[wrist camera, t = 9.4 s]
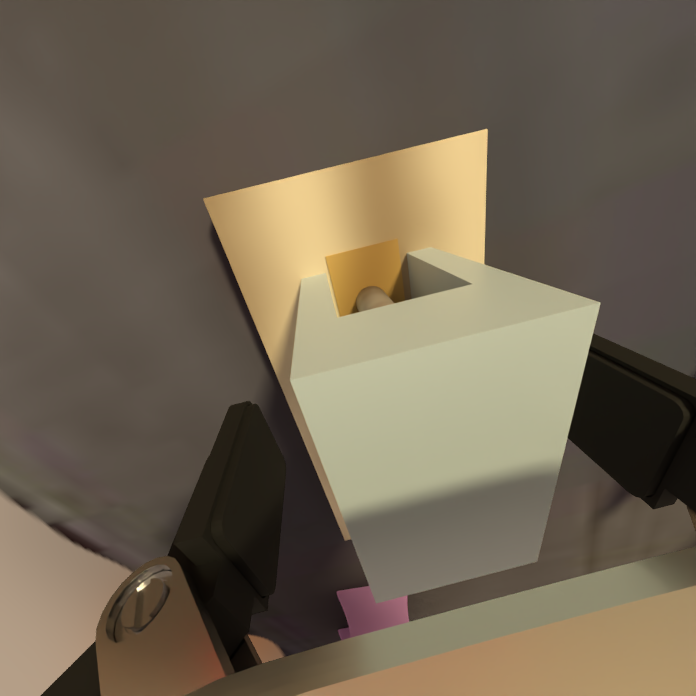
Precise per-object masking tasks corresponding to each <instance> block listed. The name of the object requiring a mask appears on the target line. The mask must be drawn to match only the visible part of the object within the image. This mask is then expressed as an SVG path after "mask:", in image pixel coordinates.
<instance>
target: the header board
mask: <svg viewBox="0 0 696 696" xmlns="http://www.w3.org/2000/svg"><path fill="white" fill-rule="evenodd" d="M486 170H487V129H485V130H481V131H477V132H473V133H468V134H464V135H460V136H456V137H452V138H448V139H444V140H440V141H436V142H432V143H428V144H424V145H420V146H416V147H412V148H407V149H403V150H399V151H395V152H391V153H387V154H383V155H379V156H375V157H371V158H367V159H363V160H359V161H355V162H350V163H346V164H342V165H338V166H334V167H330V168H326V169H322V170H318V171H314V172H310V173H306V174H302V175H298V176H294V177H289V178H285V179H281V180H277V181H273V182H269V183H265V184H261V185H257V186H253V187H249V188H245V189H241V190H237V191H232V192H228V193H224V194H220V195H216V196H212V197H208V198H204V199H203V200H204V202H205V205H206V207H207V210H208V212H209V214H210V217H211V219H212V222H213V224H214V226H215V229H216V231H217V234H218V236H219V238H220V241H221V243H222V246H223V248H224V250H225V253H226V255H227V258H228V260H229V263H230V265H231V267H232V270H233V272H234V275H235V277H236V279H237V282H238V284H239V287H240V289H241V291H242V294H243V296H244V299H245V301H246V303H247V306H248V308H249V311H250V313H251V315H252V318H253V320H254V323H255V325H256V328H257V330H258V332H259V335H260V337H261V340H262V342H263V344H264V347H265V349H266V352H267V354H268V356H269V359H270V361H271V364H272V366H273V368H274V371H275V373H276V376H277V378H278V381H279V383H280V385H281V388H282V390H283V393H284V395H285V397H286V400H287V402H288V405H289V407H290V409H291V412H292V414H293V417H294V419H295V421H296V424H297V426H298V429H299V431H300V433H301V436H302V438H303V441H304V443H305V446H306V448H307V450H308V453H309V455H310V458H311V460H312V462H313V465H314V467H315V470H316V472H317V474H318V477H319V479H320V482H321V484H322V486H323V489H324V491H325V494H326V496H327V499H328V501H329V503H330V506H331V508H332V511H333V513H334V515H335V518H336V520H337V523H338V525H339V527H340V530H341V532H342V535H343V537H344V539H345V541H346V540H350V539H351V537H350V535H349V532H348V529H347V527H346V524H345V522H344V519H343V516H342V514H341V511H340V509H339V506H338V503H337V501H336V498H335V496H334V493H333V491H332V488H331V485H330V483H329V480H328V478H327V475H326V472H325V470H324V467H323V465H322V462H321V459H320V457H319V454H318V452H317V449H316V446H315V444H314V441H313V439H312V436H311V434H310V431H309V428H308V426H307V423H306V421H305V418H304V415H303V413H302V410H301V408H300V405H299V402H298V400H297V397H296V395H295V392H294V389H293V387H292V384H291V382H290V376H291V368H292V359H293V350H294V341H295V332H296V323H297V314H298V306H299V297H300V288H301V279H303V278H307V277H311V276H315V275H319V274H323V273H326V275H327V279H328V283H329V287H330V291H331V295H332V299H333V303H334V307H335V311H336V315H337V318H338V317H342V316H346V315H350V314H354V313H358V312H362V311H366V310H370V309H374V308H378V307H382V306H386V305H390V304H394V303H398V302H402V301H406V300H410V299H411V289H410V280H409V270H408V261H407V253H409V252H413V251H417V250H421V249H425V248H429V247H432V248H435V249H438V250H441V251H444V252H448V253H451V254H454V255H457V256H460V257H463V258H466V259H469V260H472V261H475V262H478V263H481V264H484V251H485V210H486Z"/></svg>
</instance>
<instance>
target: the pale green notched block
mask: <svg viewBox="0 0 696 696" xmlns="http://www.w3.org/2000/svg"><path fill="white" fill-rule="evenodd" d="M407 261H408V270H409V280H410V289H411V299H410V300H406V301H402V302H398V303H394V304H390V305H386V306H382V307H378V308H374V309H370V310H366V311H362V312H358V313H354V314H350V315H346V316H342V317H338V318H337V315H336V311H335V307H334V303H333V299H332V295H331V291H330V287H329V283H328V279H327V275H326V273H323V274H319V275H315V276H311V277H307V278H303V279H301V288H300V297H299V306H298V314H297V323H296V332H295V341H294V350H293V359H292V368H291V376H290V382H291V384H292V387H293V389H294V392H295V395H296V397H297V400H298V402H299V405H300V408H301V410H302V413H303V415H304V418H305V421H306V423H307V426H308V428H309V431H310V434H311V436H312V439H313V441H314V444H315V446H316V449H317V452H318V454H319V457H320V459H321V462H322V465H323V467H324V470H325V472H326V475H327V478H328V480H329V483H330V485H331V488H332V491H333V493H334V496H335V498H336V501H337V503H338V506H339V509H340V511H341V514H342V516H343V519H344V522H345V524H346V527H347V529H348V532H349V535H350V537H351V540H352V542H353V545H354V548H355V550H356V553H357V555H358V558H359V560H360V563H361V566H362V568H363V571H364V573H365V576H366V579H367V581H368V584H369V586H370V589H371V592H372V594H373V597H374V599H375V602H376V603H380V602H384V601H388V600H392V599H396V598H399V597H403V596H407V595H411V594H415V593H419V592H422V591H426V590H430V589H434V588H438V587H441V586H445V585H449V584H453V583H457V582H461V581H464V580H468V579H472V578H476V577H480V576H484V575H487V574H491V573H495V572H499V571H503V570H507V569H510V568H514V567H518V566H522V565H526V564H529V563H533V562H537V560H538V556H539V552H540V547H541V543H542V539H543V535H544V531H545V527H546V523H547V519H548V515H549V511H550V507H551V503H552V499H553V494H554V490H555V486H556V482H557V478H558V474H559V470H560V466H561V462H562V458H563V454H564V450H565V446H566V441H567V437H568V433H569V429H570V425H571V421H572V417H573V413H574V409H575V405H576V401H577V397H578V393H579V388H580V384H581V380H582V376H583V372H584V368H585V364H586V360H587V356H588V352H589V348H590V344H591V340H592V335H593V331H594V327H595V323H596V319H597V315H598V311H599V307H600V302H597V301H594V300H591V299H588V298H585V297H582V296H579V295H576V294H572V293H569V292H566V291H563V290H560V289H557V288H554V287H551V286H548V285H545V284H542V283H539V282H536V281H533V280H530V279H527V278H524V277H521V276H518V275H515V274H512V273H508V272H505V271H502V270H499V269H496V268H493V267H490V266H487V265H484V264H481V263H478V262H475V261H472V260H469V259H466V258H463V257H460V256H457V255H454V254H451V253H448V252H444V251H441V250H438V249H435V248H432V247H429V248H425V249H421V250H417V251H413V252H409V253H407Z"/></svg>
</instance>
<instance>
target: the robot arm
mask: <svg viewBox="0 0 696 696" xmlns="http://www.w3.org/2000/svg"><path fill="white" fill-rule="evenodd" d="M567 438H569V439H570V440H571V441H572V442H573V443H574V444H575V445H576V446H578V447H579V448H580V449H581V450H582V451H583V452H584V453H585V454H586V455H588V456H589V457H590V458H591V459H592V460H593V461H594V462H595V463H597V464H598V465H599V466H600V467H601V468H602V469H603V470H604V471H606V472H607V473H608V474H609V475H610V476H611V477H612V478H613V479H614V480H616V481H617V482H618V483H619V484H620V485H621V486H622V487H623V488H625V489H626V490H627V491H628V492H629V493H631V494H632V495H634V496H636V497H639V498H641V499H642V500H643V501H645V502H646V503H647V504H648V505H649V506H650V507H651V508H652V509H657V508H661V507H664V506H668V505H672V504H674V503H675V502H676V500H677V498H678V499H679V500H681V501H682V502H683V503H684V504H686V505H687V509H688V512H689V514H690V517H691V520H692V523H693V525H694V528H695V531H696V379H694V378H692V377H690V376H687V375H685V374H683V373H681V372H679V371H676V370H674V369H672V368H670V367H667V366H665V365H663V364H661V363H658V362H656V361H654V360H652V359H649V358H647V357H645V356H643V355H640V354H638V353H636V352H634V351H631V350H629V349H627V348H625V347H622V346H620V345H618V344H616V343H613V342H611V341H609V340H607V339H604V338H602V337H600V336H598V335H595V334H593V335H592V340H591V344H590V348H589V352H588V356H587V360H586V364H585V368H584V372H583V376H582V380H581V384H580V388H579V393H578V397H577V401H576V405H575V409H574V413H573V417H572V421H571V425H570V429H569V433H568V437H567ZM285 476H286V464H285V460H284V458H283V456H282V453H281V451H280V449H279V447H278V445H277V443H276V441H275V439H274V437H273V435H272V433H271V431H270V429H269V427H268V425H267V423H266V421H265V418H264V416H263V414H262V412H261V410H260V408H259V406H258V405H257V404H253V405H252V403H251V402H250V401H246V402H242V403H239V404H235V405H231V406H230V407H229V409H228V411H227V414H226V416H225V419H224V421H223V424H222V426H221V429H220V431H219V434H218V436H217V439H216V441H215V444H214V446H213V449H212V451H211V454H210V456H209V457H208V459H207V460H206V463H205V465H204V468H203V470H202V473H201V475H200V477H199V480H198V482H197V485H196V487H195V490H194V492H193V495H192V497H191V500H190V502H189V504H188V507H187V509H186V512H185V514H184V517H183V519H182V522H181V524H180V527H179V529H178V531H177V534H176V536H175V539H174V541H173V544H172V546H171V549H170V551H169V554H168V556H163V557H157V558H155V559H153V560H151V561H149V562H146V563H145V564H144V565H142V566H141V567H139V568H138V569H137V570H135V571H134V572H133V573H132V574H131V575H130V576H129V577H128V578H127V579H126V580H125V581H124V582H123V583H122V584H121V585H120V586H119V588H118V589H117V590H116V591H115V593H114V594H113V595H112V597H111V598H110V600H109V602H108V603H107V605H106V607H105V609H104V610H103V612H102V615H101V618H100V620H99V623H98V626H97V629H96V640H95V642H94V643H93V644H92V645H91V646H90V647H89V648H88V649H87V650H86V651H85V652H84V653H83V654H82V655H81V656H80V657H79V658H78V659H77V660H76V661H75V662H74V663H73V664H72V665H71V666H70V667H69V668H68V669H67V670H66V671H65V672H64V673H63V674H62V675H61V676H60V677H59V678H58V679H57V680H56V681H55V682H54V683H53V684H52V685H51V686H50V687H49V688H48V689H47V690H46V691H45V692H44V693H43V694H42V695H41V696H696V546H695V547H691V548H688V549H684V550H680V551H676V552H672V553H668V554H664V555H660V556H657V557H653V558H649V559H645V560H641V561H637V562H633V563H629V564H626V565H622V566H618V567H614V568H610V569H607V570H603V571H599V572H595V573H591V574H588V575H584V576H580V577H576V578H572V579H569V580H565V581H561V582H557V583H553V584H550V585H546V586H542V587H538V588H535V589H531V590H527V591H523V592H519V593H516V594H512V595H508V596H504V597H501V598H497V599H493V600H489V601H485V602H482V603H478V604H474V605H470V606H467V607H463V608H459V609H456V610H452V611H448V612H444V613H441V614H437V615H433V616H430V617H426V618H422V619H418V620H415V621H411V622H407V623H404V624H400V625H396V626H393V627H389V628H385V629H381V630H378V631H374V632H370V633H367V634H363V635H359V636H355V637H352V638H348V639H344V640H341V641H338V642H334V643H331V644H327V645H324V646H321V647H317V648H314V649H310V650H307V651H304V652H300V653H297V654H293V655H290V656H286V657H283V658H280V659H276V660H273V661H269V662H266V663H262V661H261V660H260V658H259V656H258V654H257V652H256V650H255V648H254V646H253V644H252V642H251V640H250V638H249V636H248V634H247V633H248V632H249V628H250V621H251V615H252V614H256V613H260V612H264V611H267V608H268V599H269V595H271V594H273V593H274V591H275V586H276V577H277V566H278V555H279V543H280V532H281V521H282V510H283V499H284V488H285Z"/></svg>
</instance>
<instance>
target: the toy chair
mask: <svg viewBox="0 0 696 696" xmlns="http://www.w3.org/2000/svg"><path fill="white" fill-rule="evenodd" d="M337 596H338V599H339V601H340V603H341V605H342V608H343V610H344V613H345V615H346V619H347V622H348V625H349V628H343V629H339V630H338V633H339V636H340V638H341V640H344V639H348V638H352V637H355V636H359V635H363V634H367V633H370V632H374V631H378V630H381V629H385V628H389V627H393V626H396V625H400V624H404V623H407V622H409V617H408V607H407V596H403V597H399V598H396V599H392V600H388V601H384V602H380V603H376V602H375V599H374V597H373V594H372V592H371V589H370V586H366V587H359V588H353V589H347V590H340V591H337Z"/></svg>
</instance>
